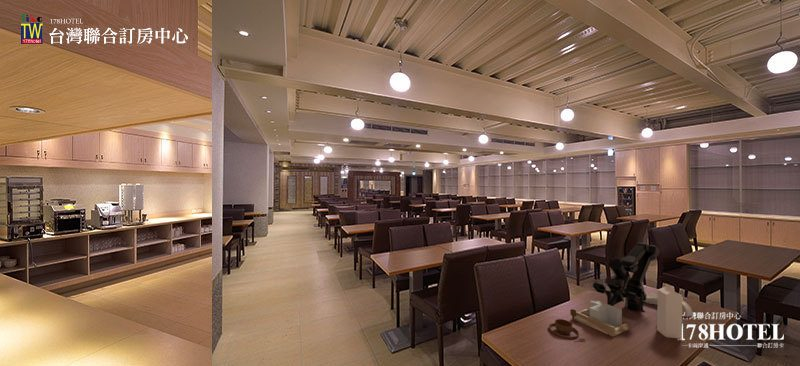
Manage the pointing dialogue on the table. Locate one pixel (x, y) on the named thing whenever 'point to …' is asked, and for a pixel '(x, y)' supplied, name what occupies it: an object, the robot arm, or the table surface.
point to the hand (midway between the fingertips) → (608, 307)
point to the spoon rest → (654, 300)
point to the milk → (669, 312)
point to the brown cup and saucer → (565, 327)
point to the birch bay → (599, 323)
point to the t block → (606, 313)
